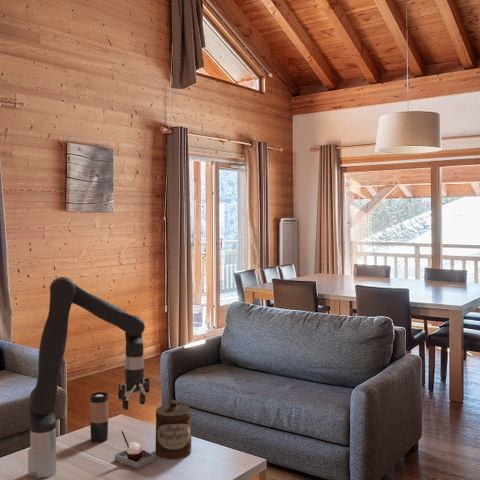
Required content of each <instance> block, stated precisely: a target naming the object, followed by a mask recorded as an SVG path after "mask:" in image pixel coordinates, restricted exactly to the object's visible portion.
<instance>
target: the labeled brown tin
mask: <svg viewBox="0 0 480 480" xmlns="http://www.w3.org/2000/svg"><path fill="white" fill-rule="evenodd" d="M191 453H192V408H191V407H190V406H189V405H185V404H181V403H178V401H177V400H176V399H171V400H170V401H169V402H168V404H163V405H161V406H158V407H157V408H156V409H155V456H157V457H159V458H160V459H164V460H180V459H182V458H183V459H184V458H186V457H188V456H189V455H190V454H191Z"/></svg>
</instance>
